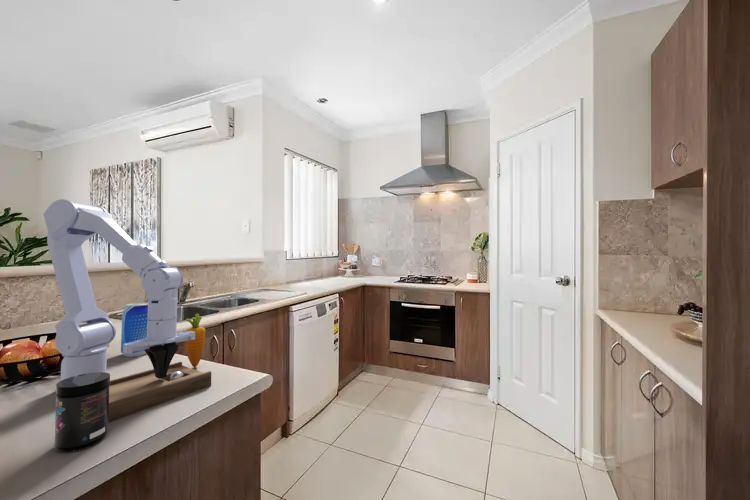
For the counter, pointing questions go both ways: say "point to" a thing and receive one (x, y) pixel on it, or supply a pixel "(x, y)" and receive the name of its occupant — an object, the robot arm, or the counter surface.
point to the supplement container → (81, 411)
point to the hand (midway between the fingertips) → (160, 377)
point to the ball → (176, 375)
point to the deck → (152, 389)
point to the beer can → (134, 325)
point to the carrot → (195, 341)
